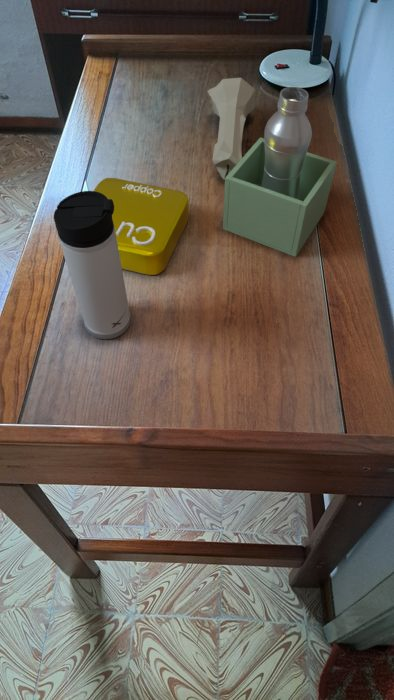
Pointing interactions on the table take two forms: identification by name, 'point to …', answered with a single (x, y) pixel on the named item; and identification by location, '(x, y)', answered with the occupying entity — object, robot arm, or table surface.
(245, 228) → the caddy
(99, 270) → the travel mug
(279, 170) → the silver metal bottle
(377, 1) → the robot arm
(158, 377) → the table surface
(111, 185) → the element tile
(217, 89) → the faceted club
